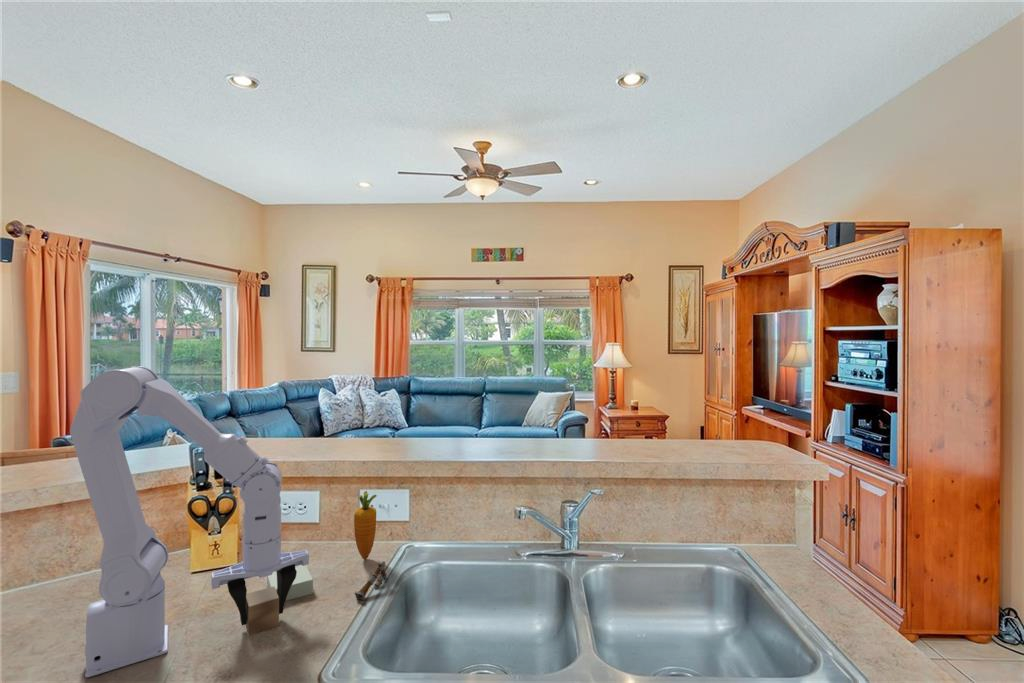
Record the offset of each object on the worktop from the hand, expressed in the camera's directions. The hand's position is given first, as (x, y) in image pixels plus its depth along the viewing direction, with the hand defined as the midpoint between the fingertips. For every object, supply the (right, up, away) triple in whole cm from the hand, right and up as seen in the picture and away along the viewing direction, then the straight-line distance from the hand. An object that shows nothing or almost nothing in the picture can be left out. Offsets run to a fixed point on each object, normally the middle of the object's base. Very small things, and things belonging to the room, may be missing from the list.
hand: (262, 616), depth 80 cm
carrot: (+10, -1, +23) cm, 26 cm away
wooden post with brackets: (+15, -2, +11) cm, 19 cm away
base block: (0, -2, +11) cm, 11 cm away
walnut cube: (0, -2, 0) cm, 2 cm away
